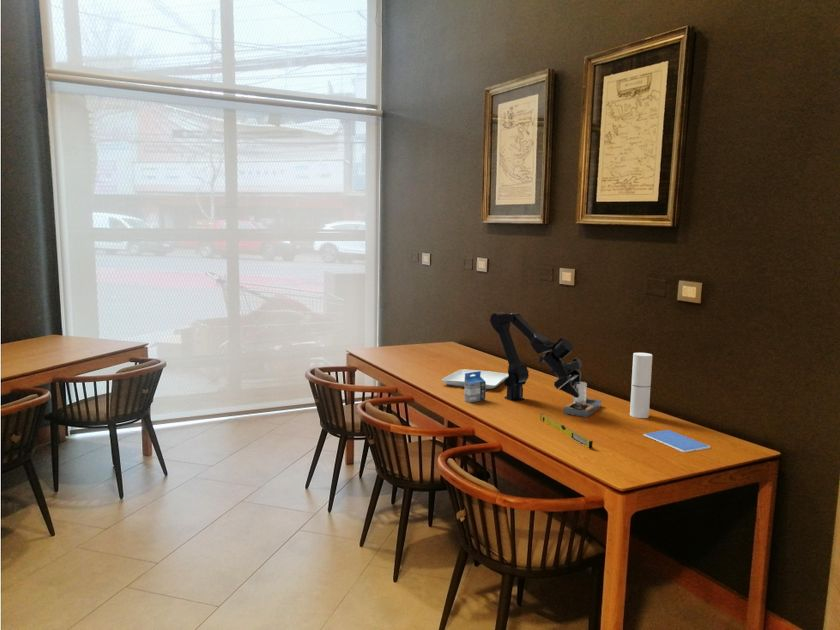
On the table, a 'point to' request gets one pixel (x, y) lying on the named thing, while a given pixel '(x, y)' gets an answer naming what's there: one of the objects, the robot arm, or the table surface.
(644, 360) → the cylindrical container
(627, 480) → the table surface
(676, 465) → the table surface
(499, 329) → the robot arm
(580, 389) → the steel peg
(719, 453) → the table surface
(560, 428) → the spirit level
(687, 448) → the tablet computer
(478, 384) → the label tape box
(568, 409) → the grey flat frame
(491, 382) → the square plate
